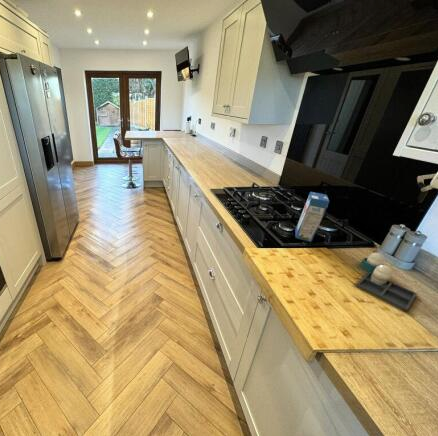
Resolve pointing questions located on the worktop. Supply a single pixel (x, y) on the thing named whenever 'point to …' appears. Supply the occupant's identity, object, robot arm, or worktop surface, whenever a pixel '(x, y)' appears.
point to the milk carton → (311, 216)
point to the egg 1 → (375, 259)
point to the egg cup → (367, 266)
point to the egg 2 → (381, 274)
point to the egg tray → (388, 292)
